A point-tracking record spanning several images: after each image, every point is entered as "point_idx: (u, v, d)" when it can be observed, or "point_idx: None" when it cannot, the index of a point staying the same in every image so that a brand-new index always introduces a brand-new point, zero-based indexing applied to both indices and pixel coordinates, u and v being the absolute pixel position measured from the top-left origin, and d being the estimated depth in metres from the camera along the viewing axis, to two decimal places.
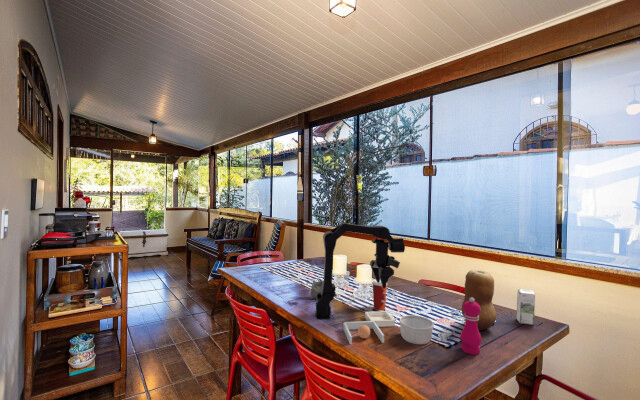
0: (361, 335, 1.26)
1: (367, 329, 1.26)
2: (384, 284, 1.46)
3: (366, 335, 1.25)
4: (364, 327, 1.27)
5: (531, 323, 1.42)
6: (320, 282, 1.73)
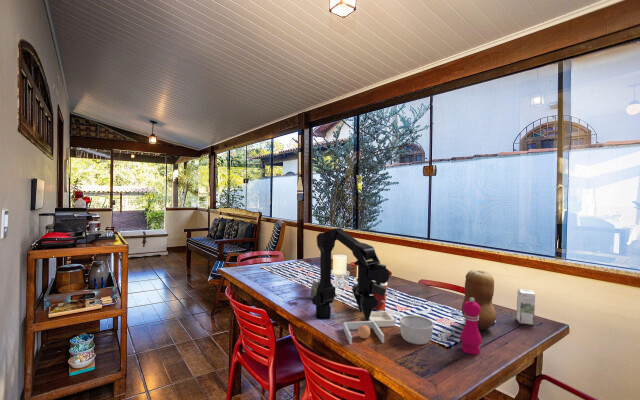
0: (361, 335, 1.26)
1: (367, 329, 1.26)
2: (367, 316, 1.22)
3: (366, 335, 1.25)
4: (364, 327, 1.27)
5: (531, 323, 1.42)
6: None
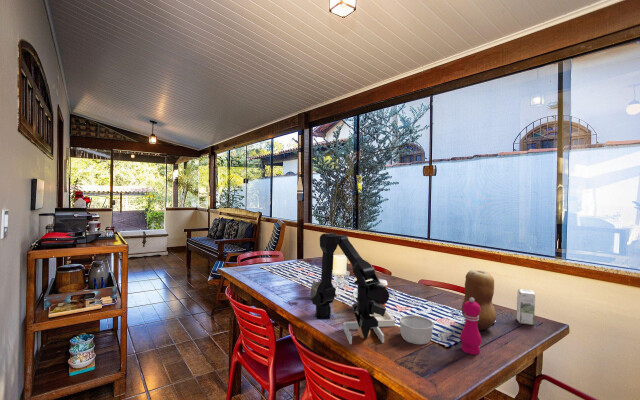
0: (361, 335, 1.26)
1: None
2: (365, 334, 1.24)
3: None
4: None
5: (531, 323, 1.42)
6: (320, 282, 1.73)
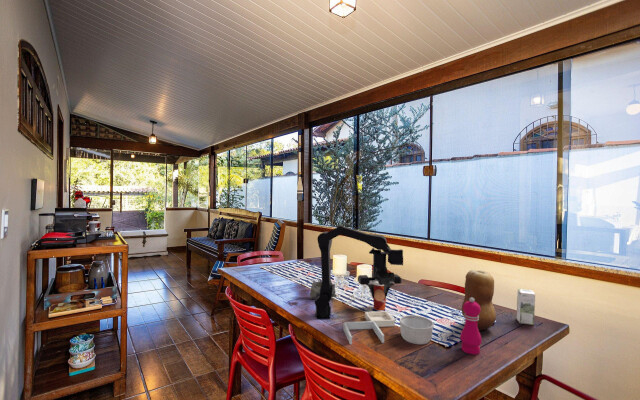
0: None
1: (376, 292, 1.41)
2: (372, 294, 1.42)
3: (374, 296, 1.42)
4: (376, 290, 1.42)
5: (531, 323, 1.42)
6: (320, 282, 1.73)
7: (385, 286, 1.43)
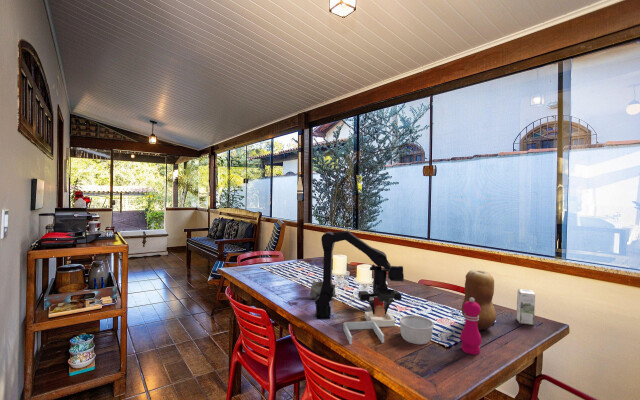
0: None
1: (376, 308, 1.43)
2: (372, 310, 1.43)
3: None
4: (377, 306, 1.44)
5: (531, 323, 1.42)
6: (320, 282, 1.73)
7: (385, 302, 1.44)
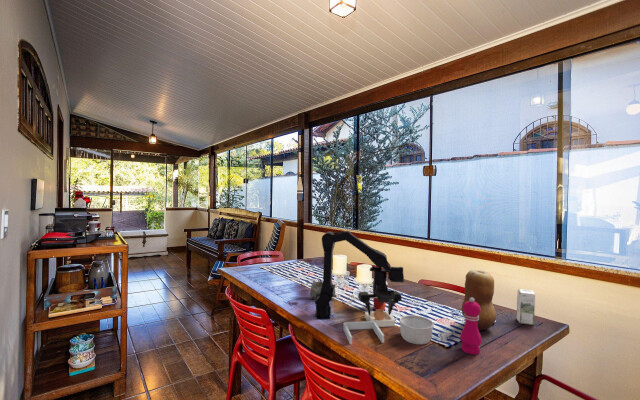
0: None
1: (376, 312, 1.43)
2: (368, 311, 1.43)
3: (374, 316, 1.43)
4: (377, 310, 1.44)
5: (531, 323, 1.42)
6: (319, 282, 1.73)
7: (389, 303, 1.45)
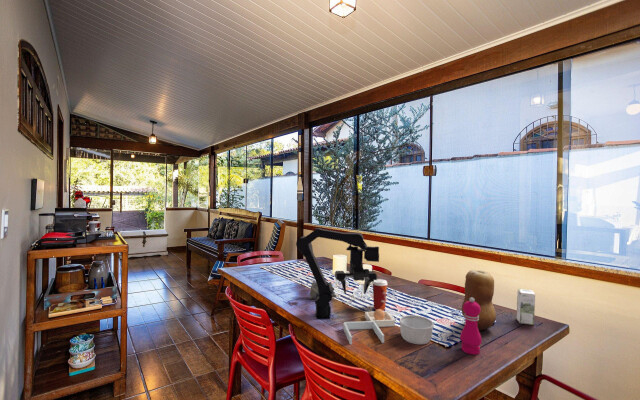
0: None
1: (376, 312, 1.43)
2: (343, 289, 1.46)
3: (374, 316, 1.43)
4: (377, 310, 1.44)
5: (531, 323, 1.42)
6: None
7: (365, 282, 1.47)
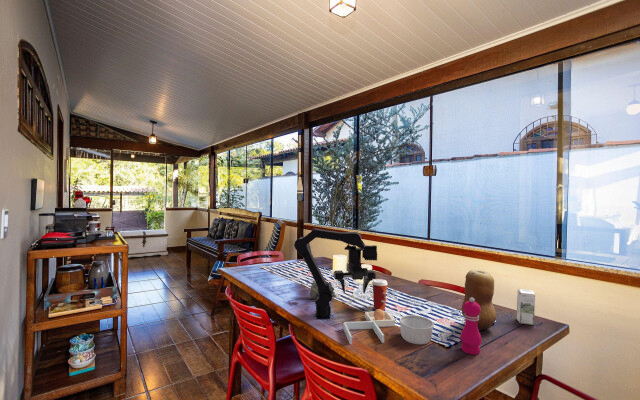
0: None
1: (376, 312, 1.43)
2: (343, 289, 1.46)
3: (374, 316, 1.43)
4: (376, 310, 1.44)
5: (531, 323, 1.42)
6: None
7: (364, 281, 1.47)
